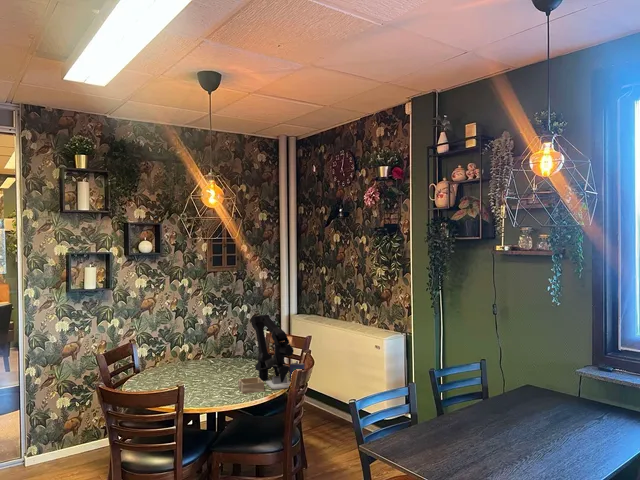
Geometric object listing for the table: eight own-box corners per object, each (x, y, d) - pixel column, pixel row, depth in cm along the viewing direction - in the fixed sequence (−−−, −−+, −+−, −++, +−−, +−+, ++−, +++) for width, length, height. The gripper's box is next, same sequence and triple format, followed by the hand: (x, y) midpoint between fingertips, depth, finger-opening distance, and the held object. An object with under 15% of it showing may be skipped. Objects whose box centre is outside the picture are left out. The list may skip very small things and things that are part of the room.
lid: (265, 384, 281) (265, 375, 281) (286, 381, 286) (286, 372, 286) (271, 390, 269) (271, 380, 269) (293, 387, 274) (293, 378, 274)
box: (238, 387, 274) (238, 379, 275) (258, 385, 279) (258, 376, 279) (243, 393, 263) (243, 384, 263) (264, 391, 268) (264, 382, 268)
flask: (304, 377, 296) (304, 360, 296) (304, 379, 293) (304, 361, 293) (289, 377, 296) (289, 360, 296) (289, 378, 293) (289, 361, 293)
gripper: (261, 351, 283) (261, 377, 283) (270, 358, 266) (270, 386, 266) (279, 349, 288) (279, 375, 287) (289, 356, 270) (289, 383, 270)
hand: (279, 380), depth 278 cm, fingers open, 9 cm apart
